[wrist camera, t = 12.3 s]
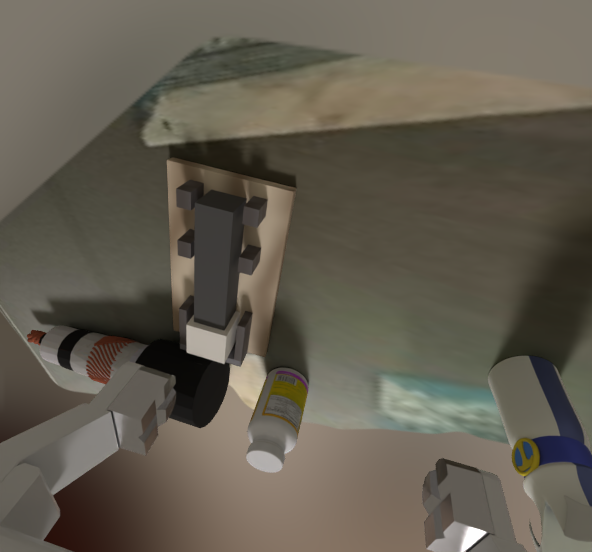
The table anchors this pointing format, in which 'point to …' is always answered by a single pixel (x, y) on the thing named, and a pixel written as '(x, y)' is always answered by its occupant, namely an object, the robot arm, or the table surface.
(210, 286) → the bar
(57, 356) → the cable
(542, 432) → the water bottle
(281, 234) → the clip board
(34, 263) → the table surface
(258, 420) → the supplement bottle
